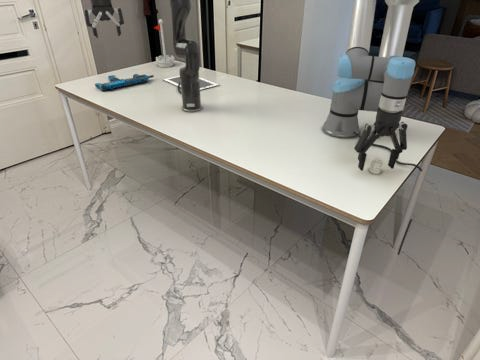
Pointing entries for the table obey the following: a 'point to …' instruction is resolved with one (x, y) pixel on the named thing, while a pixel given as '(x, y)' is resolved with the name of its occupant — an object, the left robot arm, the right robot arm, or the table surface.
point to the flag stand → (165, 60)
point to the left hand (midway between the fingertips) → (108, 36)
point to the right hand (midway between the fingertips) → (375, 167)
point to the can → (376, 165)
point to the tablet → (203, 82)
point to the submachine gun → (122, 81)
